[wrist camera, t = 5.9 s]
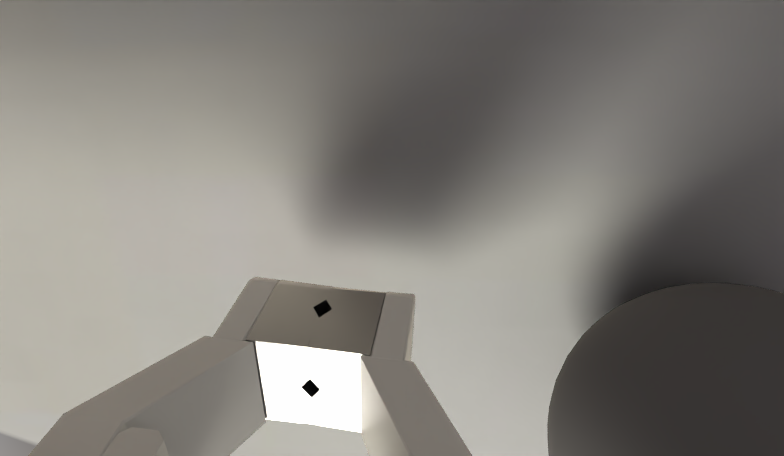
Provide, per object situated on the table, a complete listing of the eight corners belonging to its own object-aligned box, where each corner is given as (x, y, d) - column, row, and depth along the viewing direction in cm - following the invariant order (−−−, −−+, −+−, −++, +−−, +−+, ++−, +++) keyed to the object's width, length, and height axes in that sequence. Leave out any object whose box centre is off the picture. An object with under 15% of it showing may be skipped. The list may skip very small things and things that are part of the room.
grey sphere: (1370, 730, 4) (951, 267, 8) (656, 501, 5) (610, 182, 9) (858, 770, 7) (750, 433, 12) (497, 638, 8) (518, 364, 12)
